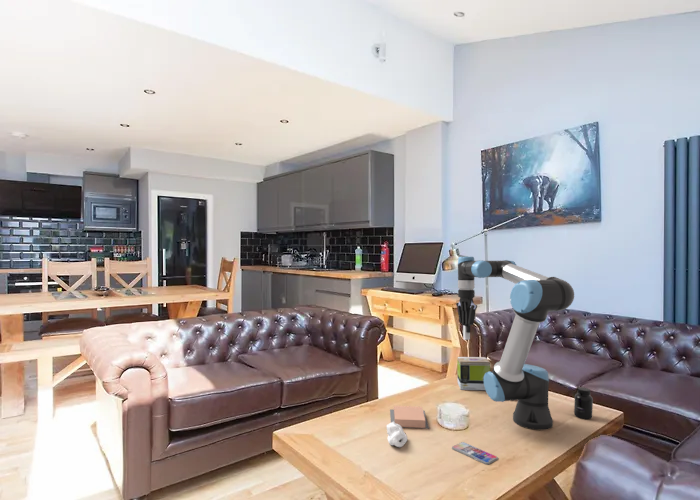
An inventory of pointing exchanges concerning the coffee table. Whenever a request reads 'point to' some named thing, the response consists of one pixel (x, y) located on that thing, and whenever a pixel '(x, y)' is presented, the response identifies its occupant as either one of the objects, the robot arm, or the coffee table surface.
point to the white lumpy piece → (396, 434)
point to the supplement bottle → (583, 404)
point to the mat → (408, 427)
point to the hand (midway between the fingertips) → (466, 339)
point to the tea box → (472, 372)
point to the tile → (409, 416)
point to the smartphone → (475, 453)
